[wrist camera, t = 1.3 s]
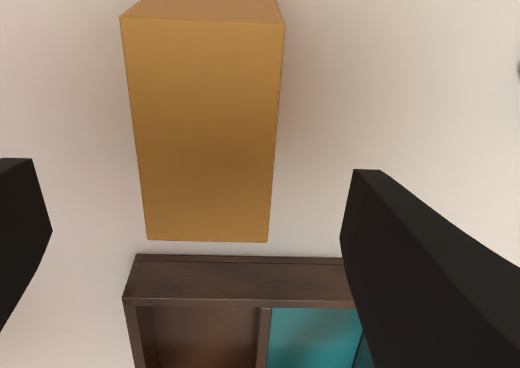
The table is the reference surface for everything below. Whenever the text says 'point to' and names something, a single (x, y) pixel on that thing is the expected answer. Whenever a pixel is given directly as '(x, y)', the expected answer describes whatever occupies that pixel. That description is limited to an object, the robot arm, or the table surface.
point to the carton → (204, 114)
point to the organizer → (242, 313)
